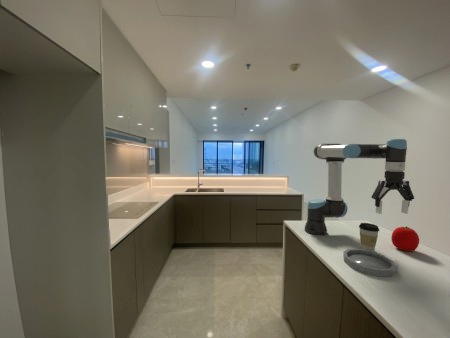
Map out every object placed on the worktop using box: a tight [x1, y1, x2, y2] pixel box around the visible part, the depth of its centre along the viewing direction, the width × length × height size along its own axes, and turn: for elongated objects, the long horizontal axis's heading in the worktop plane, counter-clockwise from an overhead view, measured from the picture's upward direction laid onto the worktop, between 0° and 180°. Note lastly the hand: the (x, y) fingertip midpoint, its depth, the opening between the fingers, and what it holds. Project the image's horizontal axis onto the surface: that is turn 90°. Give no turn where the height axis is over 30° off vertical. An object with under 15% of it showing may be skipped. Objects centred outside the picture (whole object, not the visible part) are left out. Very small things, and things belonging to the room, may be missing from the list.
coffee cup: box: [358, 222, 380, 252], centre depth 117 cm, size 10×10×15 cm
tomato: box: [390, 226, 420, 252], centre depth 118 cm, size 13×11×14 cm
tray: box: [342, 248, 398, 278], centre depth 102 cm, size 21×21×3 cm
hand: (391, 213), depth 99 cm, fingers open, 13 cm apart
